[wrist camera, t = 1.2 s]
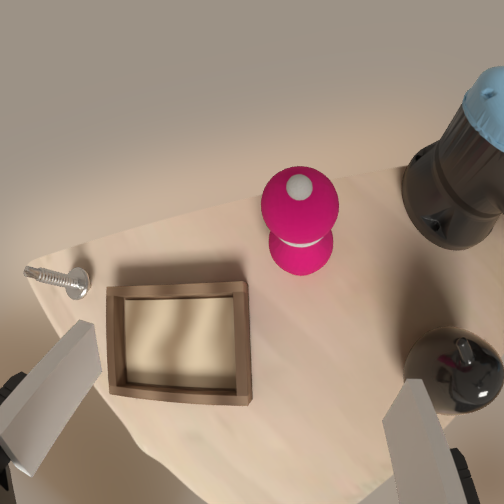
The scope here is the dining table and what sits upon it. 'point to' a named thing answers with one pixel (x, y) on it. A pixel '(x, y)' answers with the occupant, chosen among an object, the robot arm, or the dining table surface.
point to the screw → (63, 280)
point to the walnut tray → (180, 343)
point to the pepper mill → (300, 218)
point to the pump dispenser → (456, 370)
